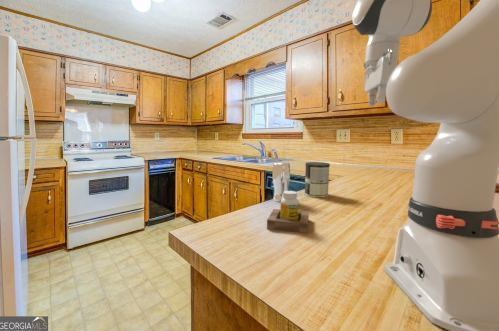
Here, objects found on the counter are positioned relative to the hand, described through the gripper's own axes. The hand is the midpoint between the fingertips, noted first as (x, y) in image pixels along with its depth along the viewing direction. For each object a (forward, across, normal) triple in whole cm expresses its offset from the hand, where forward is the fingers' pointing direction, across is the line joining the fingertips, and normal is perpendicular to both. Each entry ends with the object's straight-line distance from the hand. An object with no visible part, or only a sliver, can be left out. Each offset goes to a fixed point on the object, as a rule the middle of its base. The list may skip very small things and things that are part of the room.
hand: (375, 104), depth 76 cm
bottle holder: (+36, -14, +23) cm, 45 cm away
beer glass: (+37, +13, +28) cm, 49 cm away
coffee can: (+37, +26, +14) cm, 48 cm away
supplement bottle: (+36, -14, +23) cm, 45 cm away
